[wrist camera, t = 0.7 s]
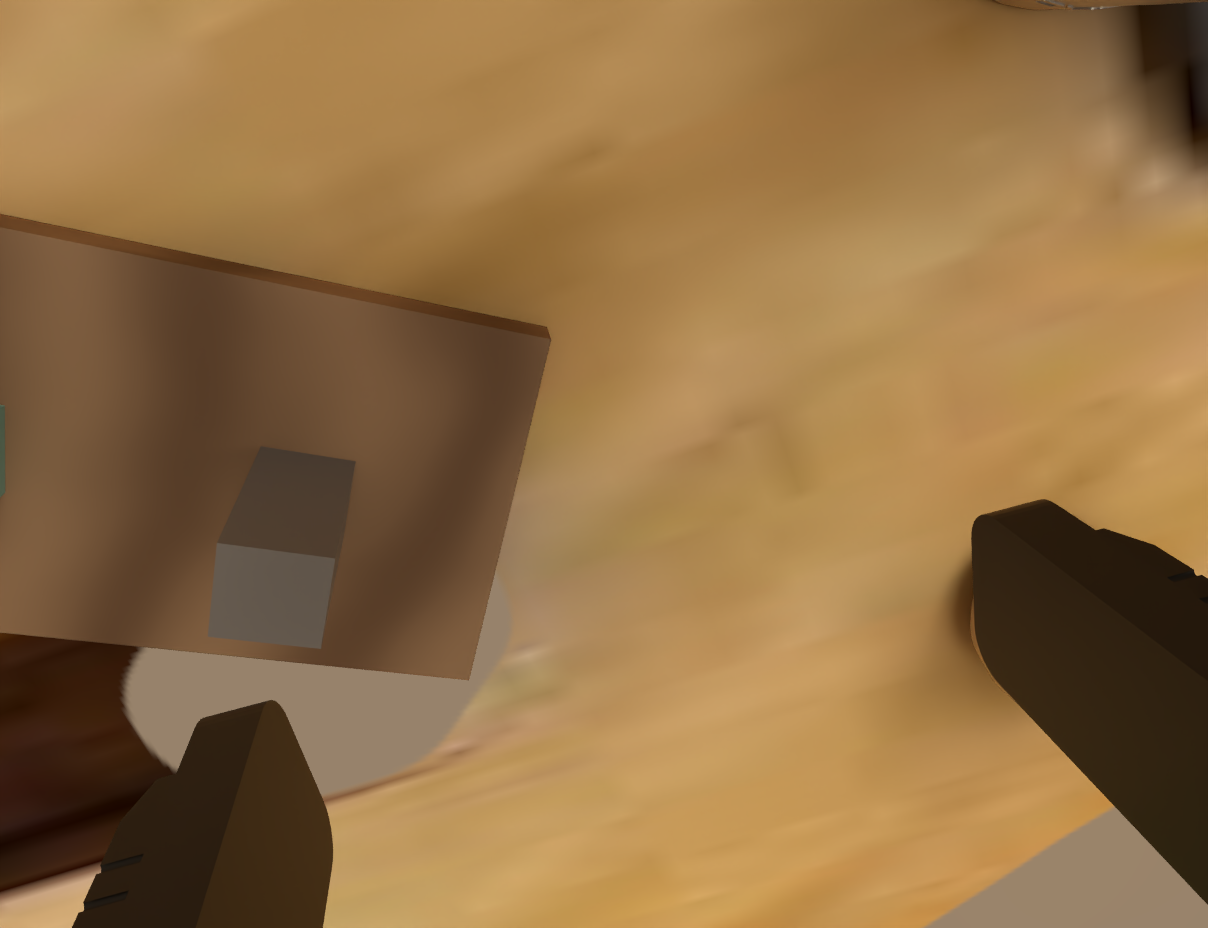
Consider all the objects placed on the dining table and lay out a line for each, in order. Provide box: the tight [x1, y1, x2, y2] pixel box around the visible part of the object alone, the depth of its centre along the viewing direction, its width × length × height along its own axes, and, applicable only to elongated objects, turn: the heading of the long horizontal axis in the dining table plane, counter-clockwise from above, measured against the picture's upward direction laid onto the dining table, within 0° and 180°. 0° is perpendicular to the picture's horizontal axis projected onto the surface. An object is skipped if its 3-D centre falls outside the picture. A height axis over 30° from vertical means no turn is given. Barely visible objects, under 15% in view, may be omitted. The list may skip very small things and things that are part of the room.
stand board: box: [0, 214, 551, 680], centre depth 25 cm, size 20×12×1 cm, turn 75°
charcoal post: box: [208, 446, 356, 649], centre depth 23 cm, size 3×3×5 cm
